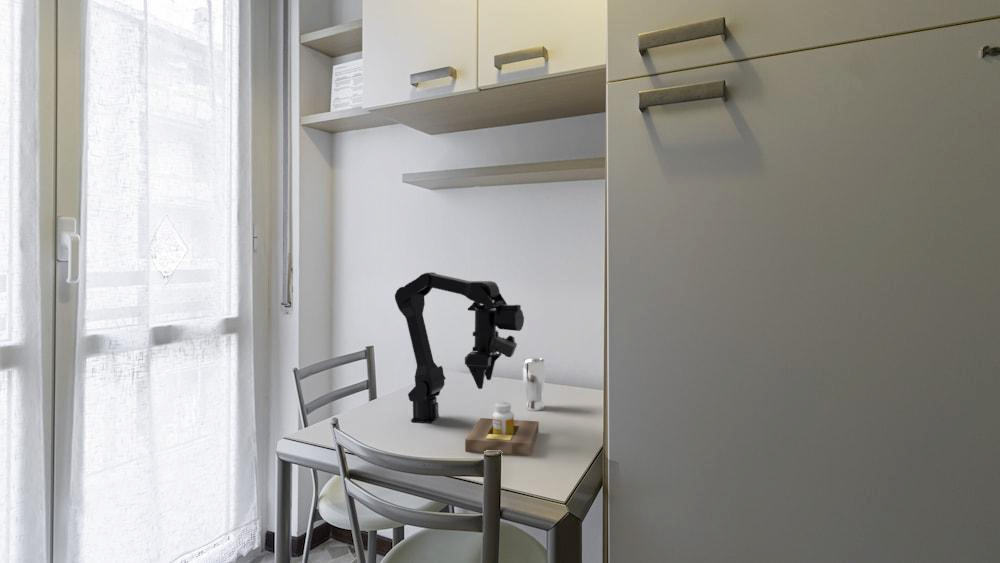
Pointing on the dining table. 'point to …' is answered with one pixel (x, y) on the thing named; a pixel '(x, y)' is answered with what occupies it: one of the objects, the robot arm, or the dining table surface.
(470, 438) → the socket block
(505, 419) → the supplement bottle
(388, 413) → the dining table surface
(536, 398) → the beer glass
